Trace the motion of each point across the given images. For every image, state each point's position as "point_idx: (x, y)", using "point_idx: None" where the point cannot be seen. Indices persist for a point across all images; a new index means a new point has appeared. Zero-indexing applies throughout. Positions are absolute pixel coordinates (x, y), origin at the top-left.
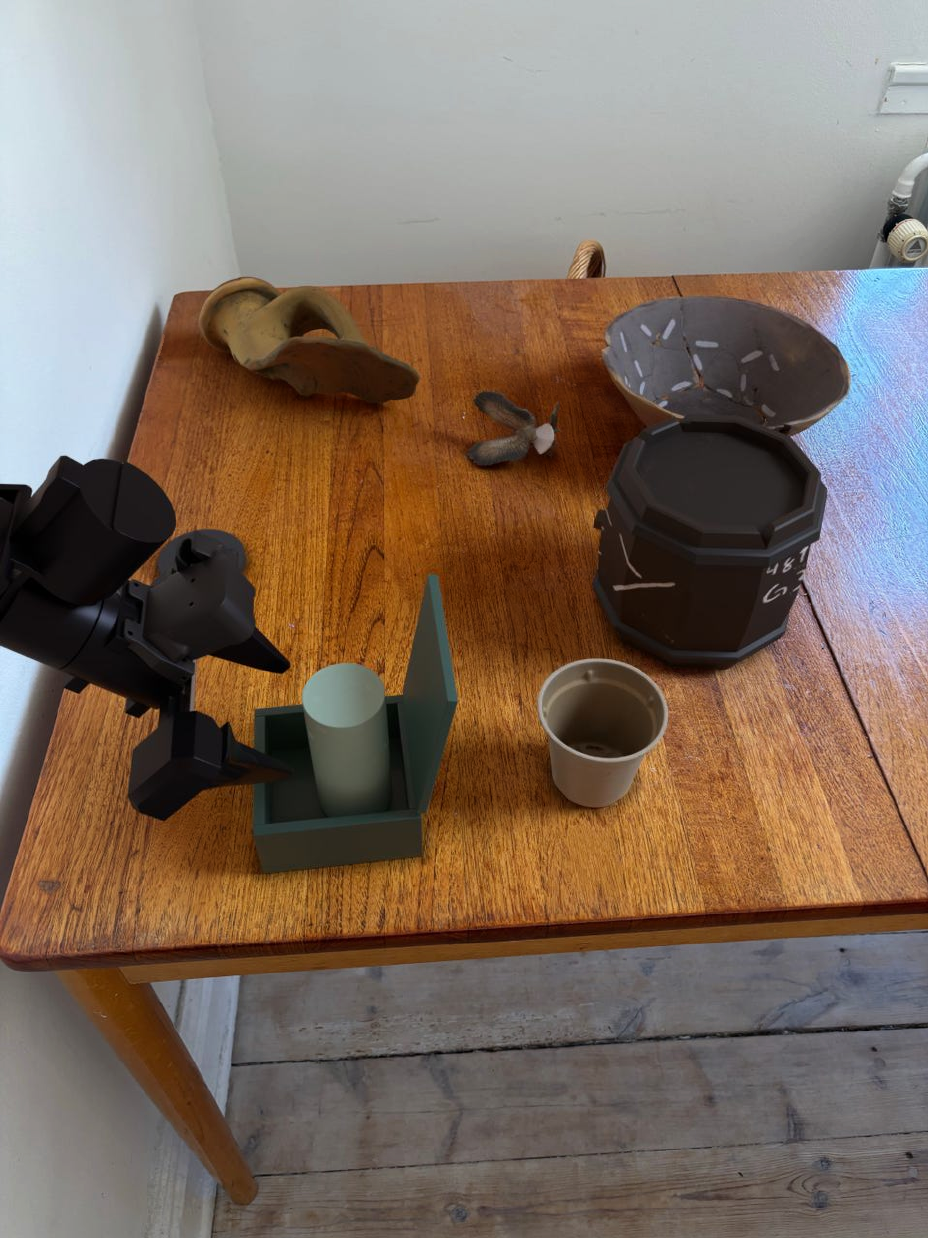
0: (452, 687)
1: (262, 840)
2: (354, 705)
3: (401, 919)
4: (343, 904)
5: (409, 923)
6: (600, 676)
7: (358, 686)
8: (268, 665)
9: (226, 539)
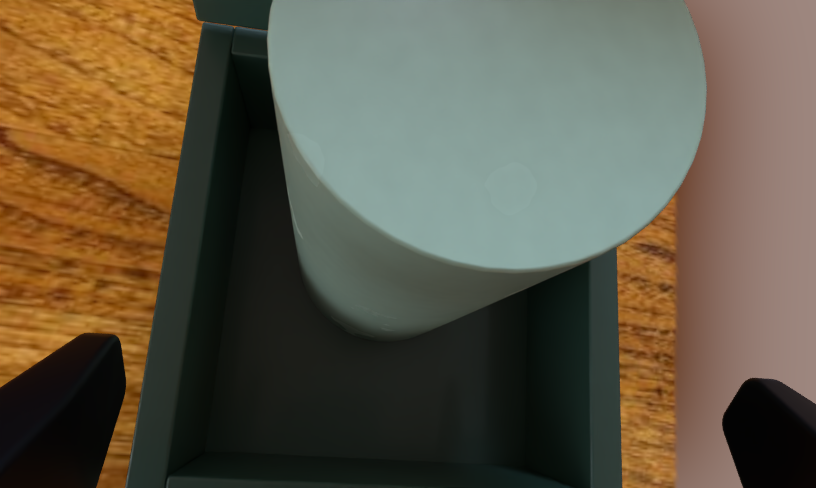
0: None
1: None
2: (582, 12)
3: (662, 217)
4: (623, 321)
5: (671, 204)
6: None
7: None
8: (85, 463)
9: None
